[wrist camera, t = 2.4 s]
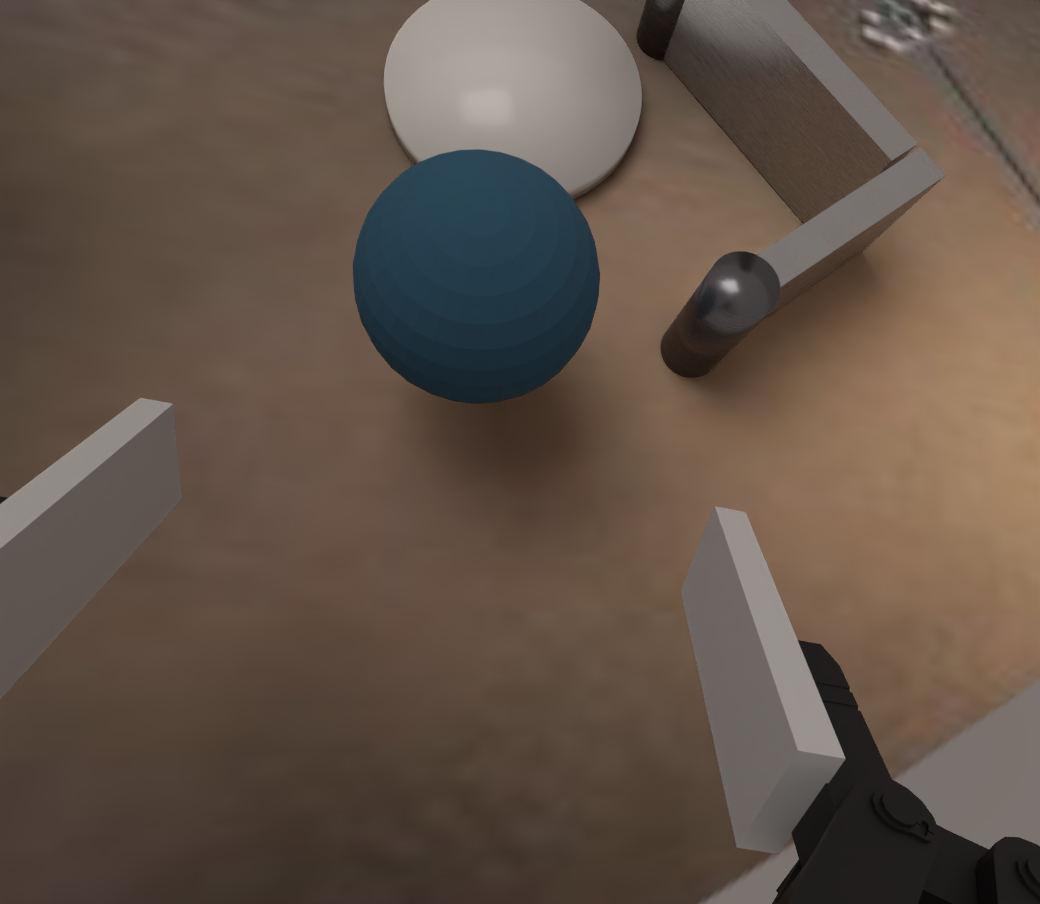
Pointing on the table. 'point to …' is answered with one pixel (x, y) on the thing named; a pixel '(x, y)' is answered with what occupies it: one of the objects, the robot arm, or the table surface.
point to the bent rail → (782, 157)
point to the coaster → (515, 86)
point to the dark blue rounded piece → (476, 276)
